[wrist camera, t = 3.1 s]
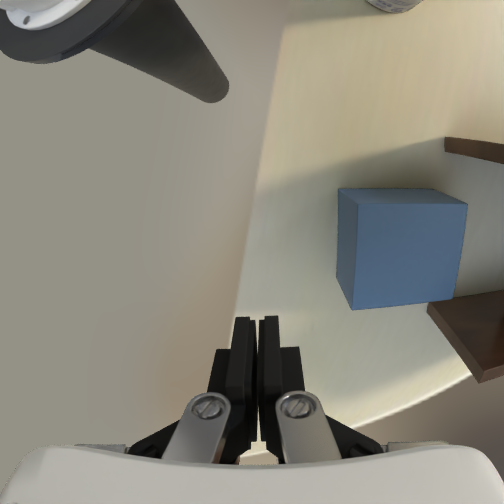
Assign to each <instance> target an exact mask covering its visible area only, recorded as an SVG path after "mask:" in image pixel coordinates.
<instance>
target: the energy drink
mask: <svg viewBox="0 0 504 504" xmlns="http://www.w3.org/2000/svg"><path fill="white" fill-rule="evenodd" d="M367 1H368V2H369V3H371V4H372V5H374V6H375V7H377V8H379V9H382V10H384V11H388V12H392V13H403V12H406V11H409V10H410V9H412V8H413V7H415V6H416V5H417V4H419V3H420V2H422V1H423V0H367Z"/></svg>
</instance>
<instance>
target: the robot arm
mask: <svg viewBox="0 0 504 504" xmlns="http://www.w3.org/2000/svg"><path fill="white" fill-rule="evenodd" d="M90 1H91V0H0V8H1V9H4V10H6V13H7V16H8V18H9V20H10V21H11V22H12V23H13V24H14V25H15V26H17V27H20V28H22V29H27V30H42V29H46V28H49V27H52V26H54V25H56V24H59V23H61V22H63V21H64V20H66V19H68V18H69V17H71V16H73V15H74V14H75V13H77V12H78V11H79V10H81V9H82V8H83V7H85V6H86V5H87V4H88V3H89V2H90ZM258 409H259V421H260V434H261V441H266V449H267V450H268V451H269V452H271V453H272V454H274V455H275V456H276V457H277V465H239V462H240V455H241V454H243V453H244V452H245V451H247V450H251V442H256V441H257V421H258ZM0 504H504V483H503V481H502V479H501V477H500V475H499V474H498V472H497V470H496V469H495V468H494V466H493V464H492V463H491V461H490V460H489V459H488V458H487V457H486V456H485V455H484V454H483V453H482V452H480V451H479V450H477V449H474V448H471V447H466V446H460V445H450V444H449V443H447V442H445V441H420V442H388V444H387V445H380V444H379V443H377V442H376V441H374V440H373V439H371V438H369V437H367V436H365V435H363V434H361V433H359V432H357V431H355V430H353V429H351V428H349V427H347V426H345V425H344V424H342V423H340V422H338V421H336V420H334V419H333V418H331V417H329V416H327V415H325V413H324V411H323V408H322V405H321V403H320V401H319V399H318V398H317V397H316V396H315V395H313V394H312V393H309V392H306V391H305V386H304V379H303V371H302V364H301V356H300V349H299V347H281V348H280V337H279V321H278V316H265V320H259V340H258V352H257V338H256V324H255V320H250V317H236V318H235V324H234V331H233V337H232V343H231V349H217V350H216V353H215V357H214V362H213V366H212V371H211V376H210V381H209V385H208V390H207V393H202V394H199V395H197V396H195V397H194V398H193V399H191V401H190V402H189V403H188V405H187V407H186V409H185V411H184V413H183V415H182V417H181V419H180V420H178V421H176V422H174V423H173V424H171V425H169V426H167V427H165V428H163V429H162V430H160V431H158V432H156V433H154V434H152V435H150V436H148V437H146V438H144V439H142V440H140V441H139V442H137V443H135V444H134V445H132V446H131V447H126V445H125V444H124V445H92V444H89V445H88V444H77V445H54V446H44V447H40V448H36V449H34V450H32V451H31V452H29V453H28V454H27V455H26V456H25V457H24V458H23V459H22V460H21V462H20V463H19V464H18V466H17V467H16V468H15V470H14V472H13V473H12V475H11V476H10V478H9V480H8V481H7V483H6V485H5V487H4V488H3V490H2V492H1V494H0Z"/></svg>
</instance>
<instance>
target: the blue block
mask: <svg viewBox="0 0 504 504" xmlns="http://www.w3.org/2000/svg"><path fill="white" fill-rule="evenodd" d="M467 206H468V204H467V203H465V202H462V201H460V200H458V199H456V198H453V197H451V196H449V195H446V194H444V193H442V192H439V191H437V190H434V189H408V188H359V189H338V247H337V274H336V278H337V280H338V282H339V284H340V286H341V288H342V290H343V293H344V295H345V297H346V299H347V301H348V303H349V306H350V308H351V310H361V309H372V308H382V307H392V306H401V305H410V304H418V303H426V302H434V301H442V300H449V299H452V298H453V294H454V290H455V285H456V280H457V275H458V270H459V264H460V259H461V253H462V246H463V239H464V232H465V224H466V216H467Z"/></svg>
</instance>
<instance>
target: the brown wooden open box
mask: <svg viewBox="0 0 504 504" xmlns="http://www.w3.org/2000/svg"><path fill="white" fill-rule="evenodd" d="M445 152H449V153H455V154H460V155H465V156H470V157H474V158H479V159H484V160H488V161H492V162H496V163H501V164H504V144H499V143H492V142H485V141H478V140H470V139H462V138H453V137H445ZM427 313H428V315H429V316H430V317H431V318H432V320H433V321H434V322H435V324H436V325H437V326H438V328H439V329H440V330H441V331H442V333H443V334H444V335H445V337H446V338H447V339H448V341H449V342H450V344H451V345H452V346H453V348H454V349H455V350H456V352H457V353H458V355H459V356H460V357H461V359H462V360H463V362H464V363H465V364H466V366H467V367H468V369H469V370H470V372H471V373H472V374H473V376H474V377H475V379H476V380H477V382H478V383H482V382H485V381H488V380H491V379H494V378H497V377H500V376H503V375H504V290H502V291H496V292H490V293H483V294H477V295H470V296H464V297H457V298H452V299H449V300H442V301H434V302H429V304H428V309H427Z"/></svg>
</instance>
